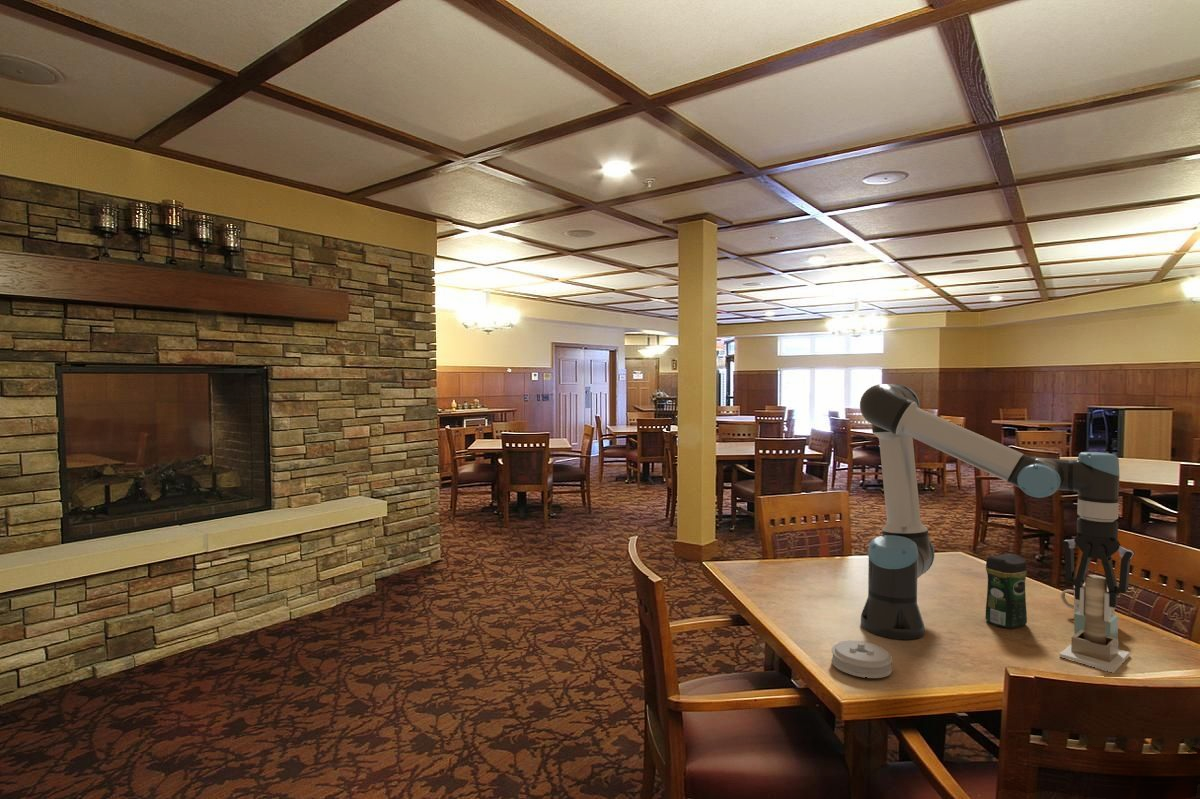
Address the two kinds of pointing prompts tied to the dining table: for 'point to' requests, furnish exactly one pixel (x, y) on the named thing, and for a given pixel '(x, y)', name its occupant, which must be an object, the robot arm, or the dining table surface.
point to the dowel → (1095, 609)
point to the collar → (1094, 647)
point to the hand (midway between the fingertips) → (1095, 616)
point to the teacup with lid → (1075, 601)
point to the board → (1095, 662)
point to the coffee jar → (1006, 590)
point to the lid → (861, 659)
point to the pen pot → (1110, 625)
